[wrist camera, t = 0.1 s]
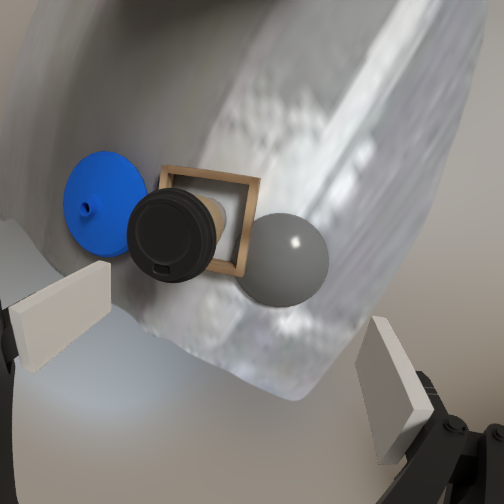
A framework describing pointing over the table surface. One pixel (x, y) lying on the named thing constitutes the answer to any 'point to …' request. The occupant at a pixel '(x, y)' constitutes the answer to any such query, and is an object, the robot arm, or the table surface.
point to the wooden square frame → (254, 184)
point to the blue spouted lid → (102, 202)
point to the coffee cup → (174, 234)
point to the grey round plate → (283, 260)
